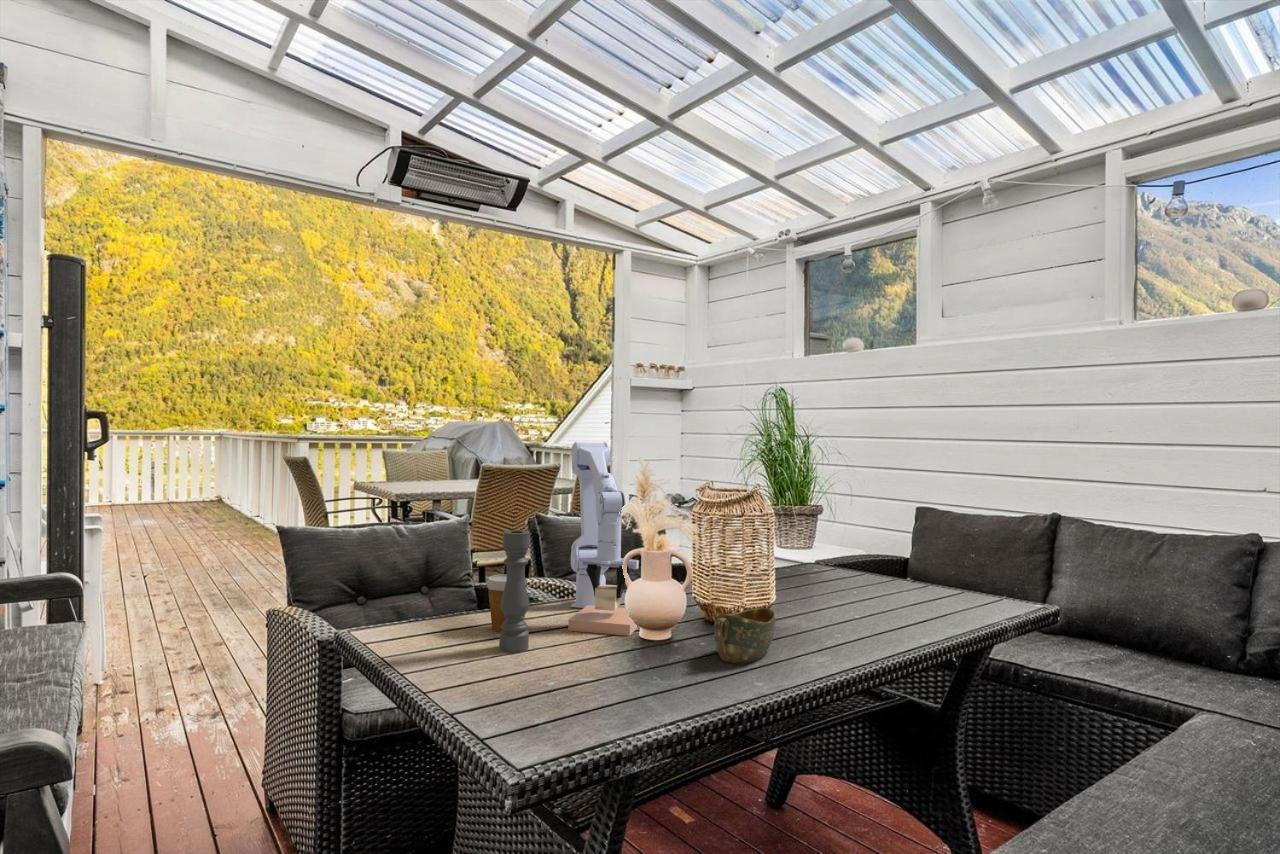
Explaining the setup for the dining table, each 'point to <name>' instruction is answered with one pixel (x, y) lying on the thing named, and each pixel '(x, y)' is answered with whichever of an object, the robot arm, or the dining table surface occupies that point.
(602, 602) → the birch block
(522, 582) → the candle holder
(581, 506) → the robot arm
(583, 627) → the terracotta base
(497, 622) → the disposable coffee cup
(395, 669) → the dining table surface
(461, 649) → the dining table surface
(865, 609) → the dining table surface
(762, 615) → the creamer
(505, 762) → the dining table surface
